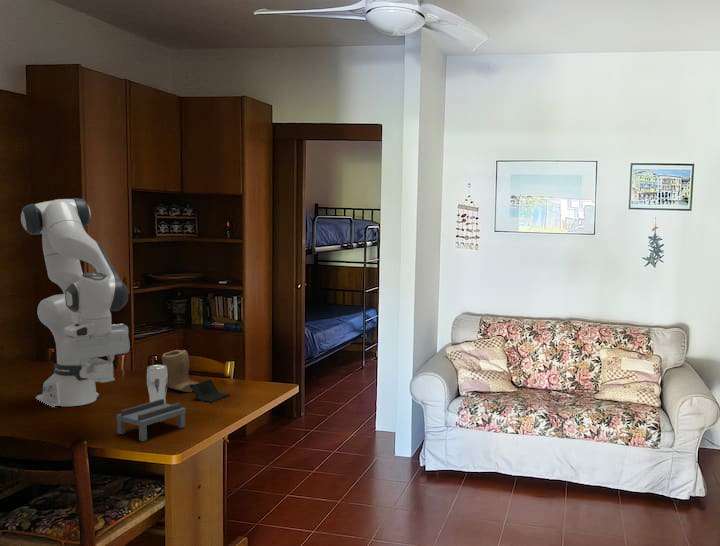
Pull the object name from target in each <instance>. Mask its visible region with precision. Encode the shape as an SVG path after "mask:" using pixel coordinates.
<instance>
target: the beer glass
mask: <svg viewBox="0 0 720 546" xmlns="http://www.w3.org/2000/svg"><path fill="white" fill-rule="evenodd" d="M146 368H147V369H146V386H147V387H146V388H147V390H148V397H149V402H153V401H156V400H160V399H164V403H165V404H167V401H166V398H167V397H166V396H167V391H168V387H167V385H168V382H169V377H168V372H167V366H166V365H163V364H153V365H149V366H147V367H146Z"/></svg>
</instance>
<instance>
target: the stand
mask: <svg viewBox="0 0 720 546" xmlns="http://www.w3.org/2000/svg"><path fill="white" fill-rule="evenodd" d="M186 412H187V408H185V407H182V403H181V402H176V403H174V404H169V403H166V404H165V403H164V399H160V400H156V401H153V402H150V401H149V402H146V403H142V404H138V405H136V406H131V407H128V408H125V409H122V410H120V413H118V414H115V417H116V422H117V428H116V429H117V434H118V433H119V434H122V435H125V434H126V423H128V424H129V425H135V426H138V440H139V441H141V442H145V441H148V430H147V429H148V427H147V426H149V425H152V424H155V423H159V422H160V423H163V422H164V421H165V420H167V419H168V420H169V419H171V418H175V417H177V428H178V429H183V428H185V427H186ZM162 421H163V422H162ZM182 427H183V428H182ZM124 433H125V434H124ZM119 434H118V435H119Z"/></svg>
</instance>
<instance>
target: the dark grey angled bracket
mask: <svg viewBox="0 0 720 546" xmlns="http://www.w3.org/2000/svg"><path fill="white" fill-rule="evenodd" d="M191 387H192V389H193V392H194V394H195V396H196V398H197V399H198V400H199V401H198V400H197V401H198V402H200V401H204V402H203V403H206V402H210V403H209V404H213V403H212V402H214V403H215V401H216V402H218V401H217V400H219V401H221V400H223V399H222V398H224V399H226V398H225V397H227V398H229V397H230V393H224V392H220V391H218V389H217V388H216V386H215V385H214V382H213V381H212V379H206V380H204V381H201V382H198V384H195V385H192V386H191ZM228 396H229V397H228ZM220 399H221V400H220Z"/></svg>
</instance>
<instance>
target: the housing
mask: <svg viewBox="0 0 720 546" xmlns="http://www.w3.org/2000/svg"><path fill="white" fill-rule="evenodd" d="M85 364H86V365H87V367H90V368H91V370H90V371H91V373H88V374H84V370H83V367H82V373H81V375H82V377H85V378H88V379H90V380H93V381H95V383H102V384H103V383H109V382H113V381H114V382H115V381H116V379H115V377H114V363H113V362H109V361H108V360H106V359H105V360H104V359H102V358H100V357H97V358H91V359H88V360H87V363H85Z"/></svg>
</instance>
